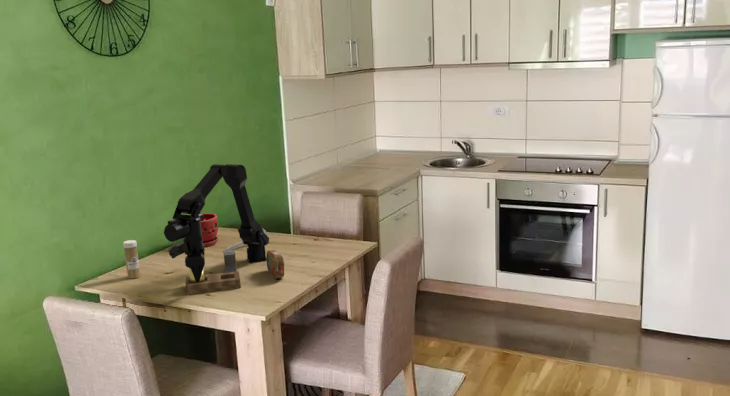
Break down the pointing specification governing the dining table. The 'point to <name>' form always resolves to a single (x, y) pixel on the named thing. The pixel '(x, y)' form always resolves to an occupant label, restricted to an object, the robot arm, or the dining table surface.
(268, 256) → the tin
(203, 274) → the round bit
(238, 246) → the caliper
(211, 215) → the plant pot
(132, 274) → the sprinkles bottle
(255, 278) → the dining table surface
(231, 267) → the square bit
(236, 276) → the bore block
